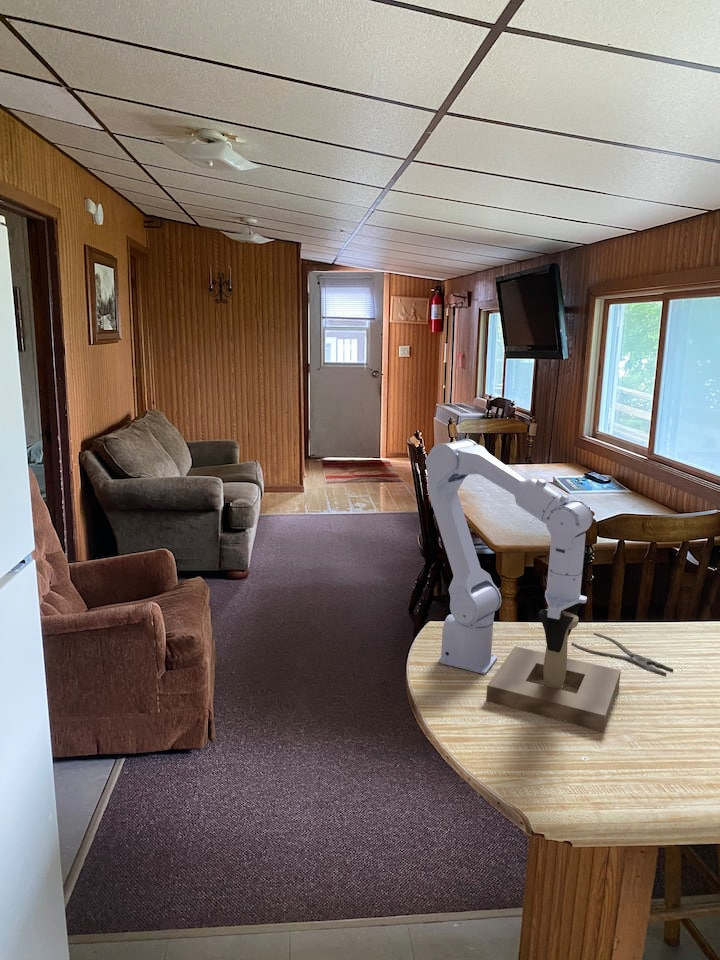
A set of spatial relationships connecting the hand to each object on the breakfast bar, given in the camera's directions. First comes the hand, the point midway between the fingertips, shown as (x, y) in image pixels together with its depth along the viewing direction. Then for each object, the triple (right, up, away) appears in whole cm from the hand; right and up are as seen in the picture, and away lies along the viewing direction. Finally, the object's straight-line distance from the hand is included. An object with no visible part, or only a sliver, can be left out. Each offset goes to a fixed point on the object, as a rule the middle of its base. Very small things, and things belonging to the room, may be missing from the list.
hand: (558, 642), depth 126 cm
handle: (0, -10, +2) cm, 10 cm away
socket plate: (0, -10, +2) cm, 10 cm away
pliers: (+19, -7, +19) cm, 28 cm away
